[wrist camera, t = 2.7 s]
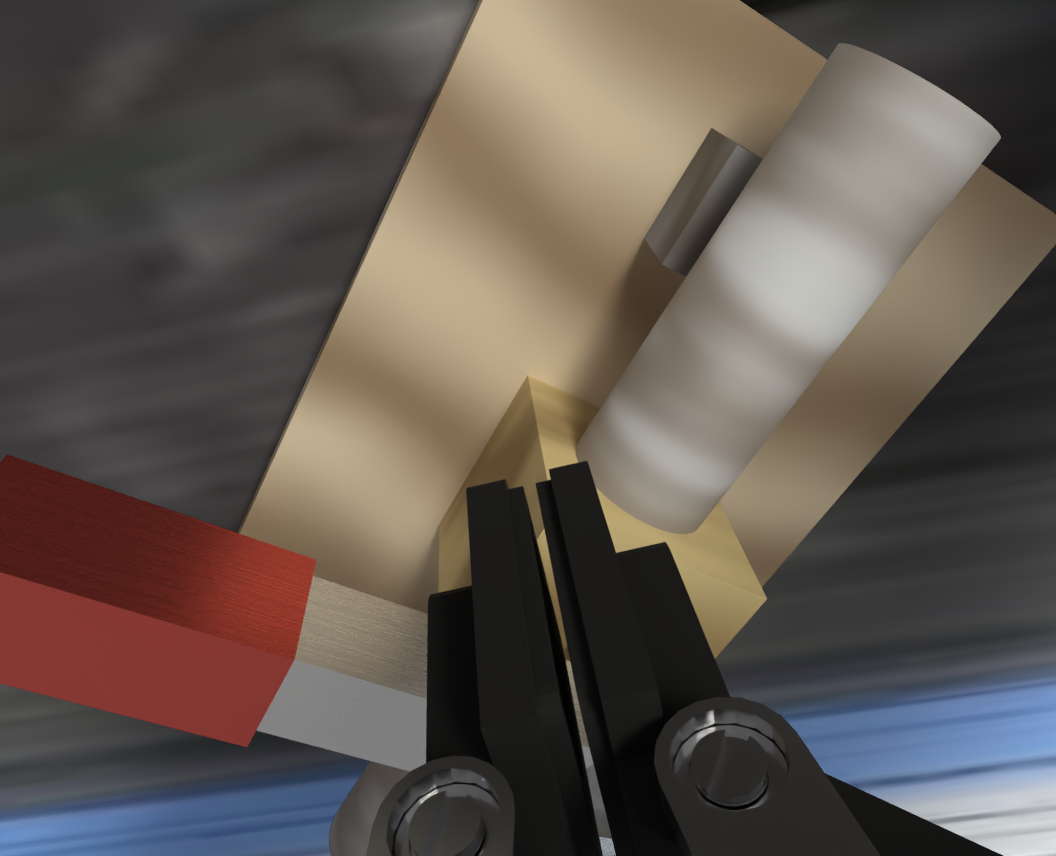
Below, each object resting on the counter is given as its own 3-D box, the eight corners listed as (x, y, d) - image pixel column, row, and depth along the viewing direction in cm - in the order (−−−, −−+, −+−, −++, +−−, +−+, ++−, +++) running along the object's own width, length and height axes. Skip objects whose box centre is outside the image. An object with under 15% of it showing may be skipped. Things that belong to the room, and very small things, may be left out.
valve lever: (10, 444, 13) (-74, 538, 11) (696, 680, 17) (729, 781, 15) (-23, 560, 14) (-105, 665, 12) (631, 756, 18) (654, 859, 16)
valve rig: (536, -126, 18) (611, -196, 9) (1036, 209, 22) (1370, 355, 14) (179, 659, 28) (70, 945, 20) (571, 771, 33) (610, 1037, 25)
